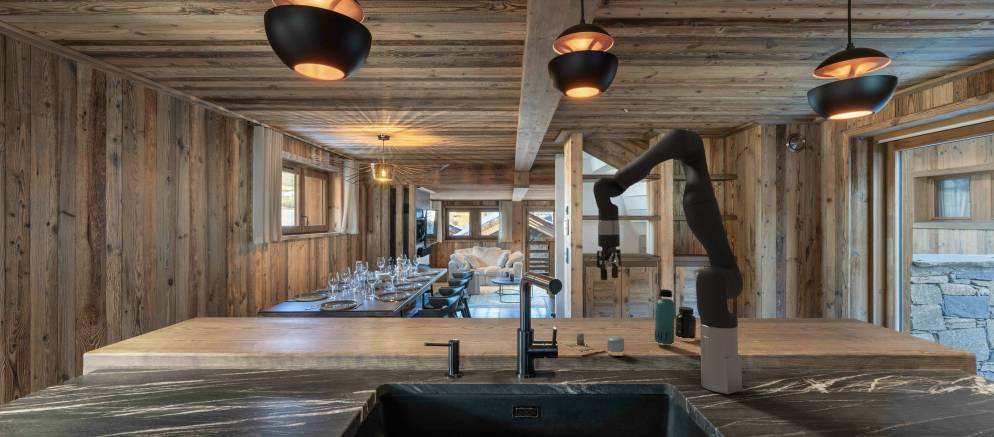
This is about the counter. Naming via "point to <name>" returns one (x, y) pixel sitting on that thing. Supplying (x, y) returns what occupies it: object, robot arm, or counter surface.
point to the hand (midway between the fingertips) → (609, 279)
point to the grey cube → (615, 344)
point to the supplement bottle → (685, 323)
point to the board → (573, 345)
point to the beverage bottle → (664, 318)
